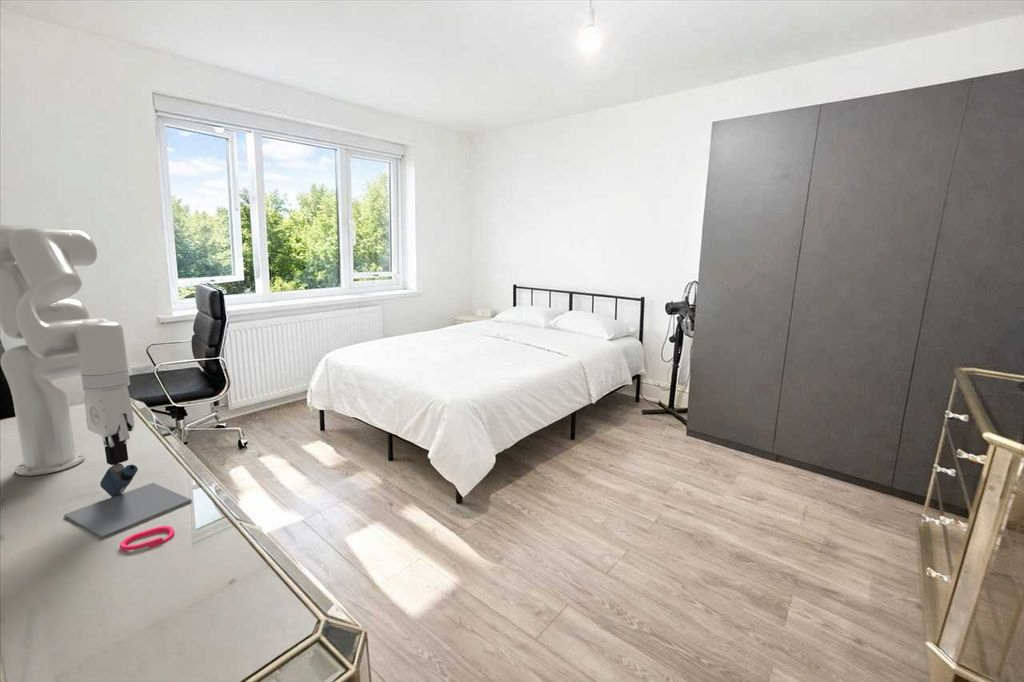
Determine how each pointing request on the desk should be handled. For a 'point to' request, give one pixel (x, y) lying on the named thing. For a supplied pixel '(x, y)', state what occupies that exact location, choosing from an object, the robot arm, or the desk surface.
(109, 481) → the vaping device
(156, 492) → the mat
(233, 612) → the desk surface
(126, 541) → the fitness band
